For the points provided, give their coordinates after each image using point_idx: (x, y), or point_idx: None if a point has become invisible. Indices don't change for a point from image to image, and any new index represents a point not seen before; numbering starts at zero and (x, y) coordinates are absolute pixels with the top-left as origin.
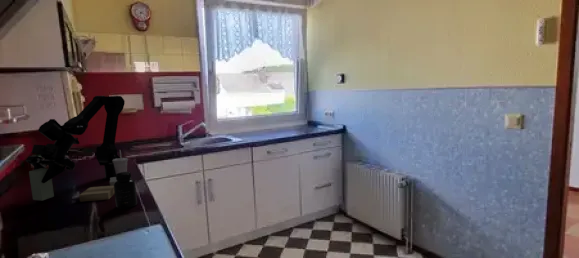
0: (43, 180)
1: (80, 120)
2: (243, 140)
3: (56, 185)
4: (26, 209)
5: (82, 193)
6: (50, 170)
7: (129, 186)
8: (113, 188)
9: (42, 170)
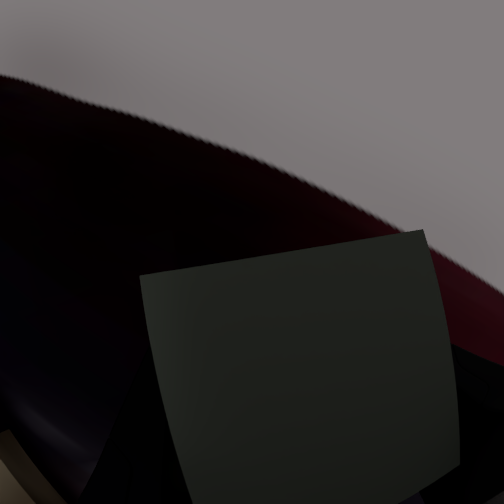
0: (147, 350)
1: None
2: None
3: None
4: (179, 222)
5: (2, 469)
6: (79, 498)
7: None
8: None
9: (195, 414)
